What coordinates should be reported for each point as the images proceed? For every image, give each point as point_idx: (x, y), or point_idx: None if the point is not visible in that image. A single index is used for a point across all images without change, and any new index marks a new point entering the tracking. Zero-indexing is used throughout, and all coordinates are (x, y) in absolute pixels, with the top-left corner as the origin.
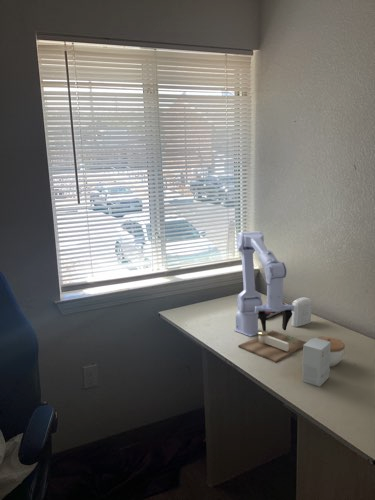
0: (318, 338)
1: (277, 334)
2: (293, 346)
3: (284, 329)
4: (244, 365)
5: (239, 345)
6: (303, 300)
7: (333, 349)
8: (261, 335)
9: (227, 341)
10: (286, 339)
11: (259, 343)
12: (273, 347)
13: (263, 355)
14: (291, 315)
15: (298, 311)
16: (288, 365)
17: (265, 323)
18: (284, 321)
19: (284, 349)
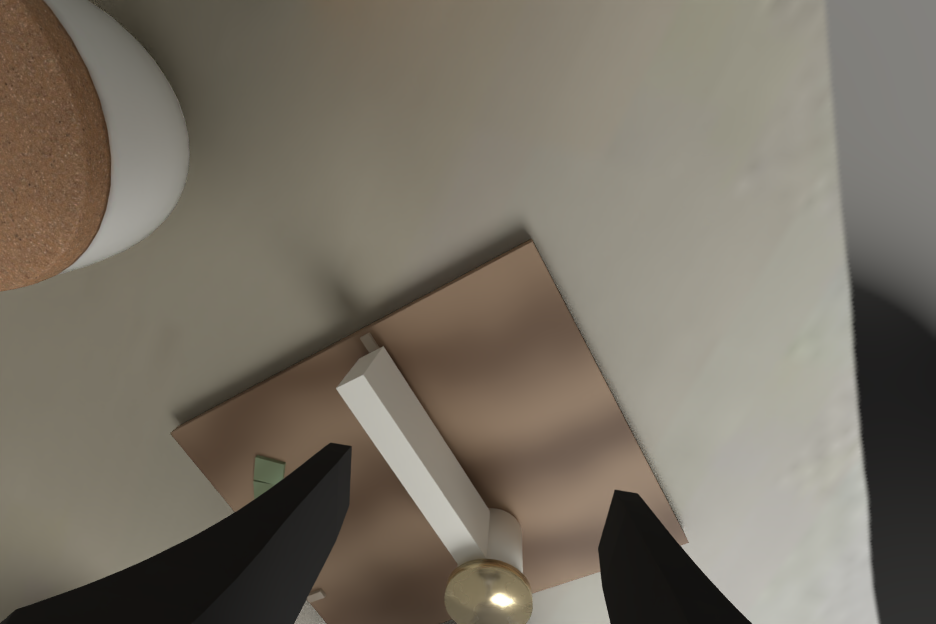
0: (8, 256)
1: (340, 598)
2: (296, 417)
3: (342, 450)
4: (804, 254)
5: (682, 537)
6: None
7: None
8: (515, 568)
9: None
10: None
11: (521, 523)
12: (448, 442)
13: (584, 346)
14: (23, 614)
15: None
16: (448, 163)
17: (676, 588)
18: (285, 559)
19: (391, 367)
